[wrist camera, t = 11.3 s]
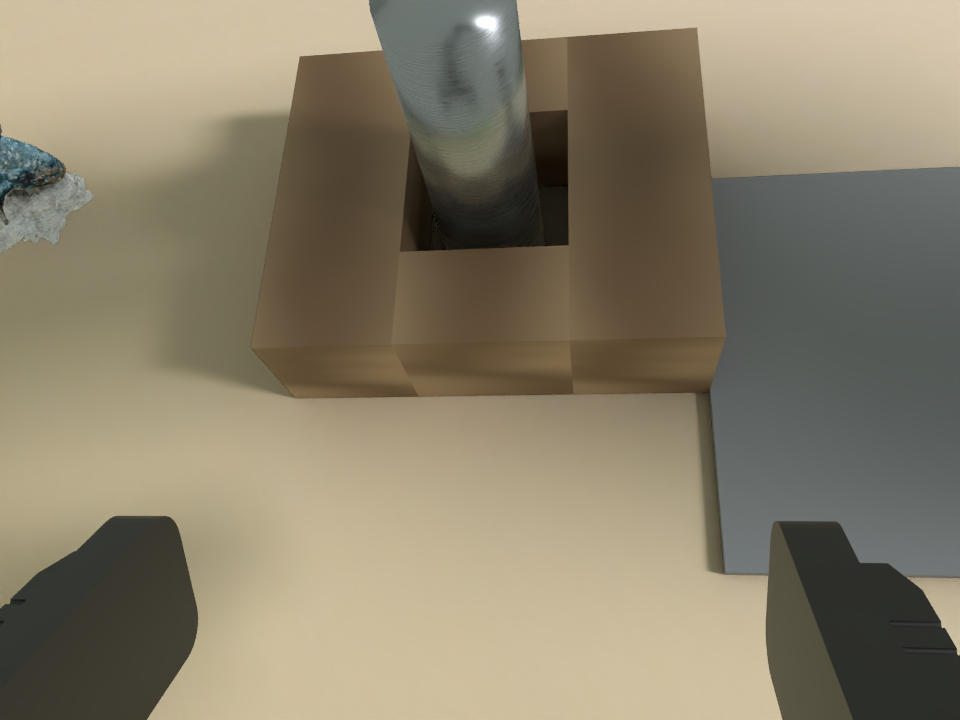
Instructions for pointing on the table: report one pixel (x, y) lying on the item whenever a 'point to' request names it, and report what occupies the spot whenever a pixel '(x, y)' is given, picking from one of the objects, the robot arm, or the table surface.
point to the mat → (840, 364)
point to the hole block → (499, 271)
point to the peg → (466, 115)
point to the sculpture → (35, 194)
